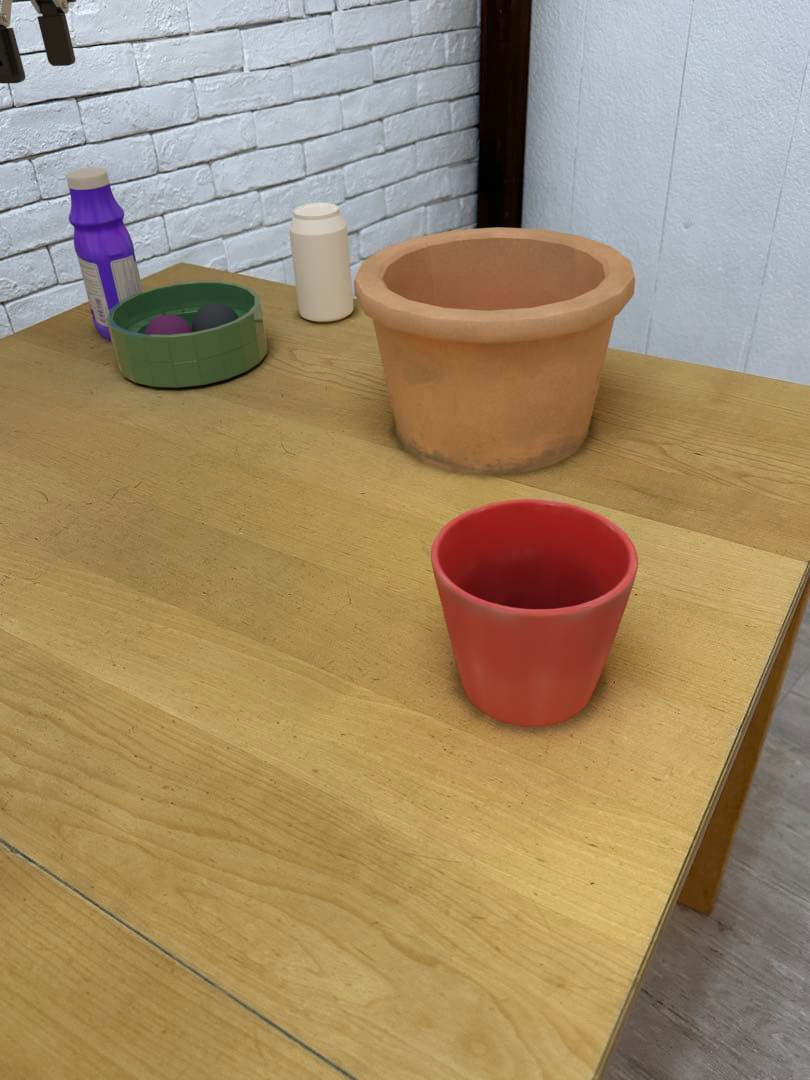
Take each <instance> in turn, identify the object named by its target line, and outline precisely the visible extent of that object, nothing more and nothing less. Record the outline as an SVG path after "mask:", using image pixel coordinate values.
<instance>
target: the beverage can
mask: <svg viewBox="0 0 810 1080" xmlns="http://www.w3.org/2000/svg"><path fill="white" fill-rule="evenodd" d="M292 213H293V216H292V219H291V221H290V224H289V227H288V233H289V241H290V248H291V257H292V264H293V265H292V267H293V274H294V282H295V289H296V290H295V291H296V298H297V305H298V313H299V315H300V316H301V317H302V318H303V319H305V320H308V321H310V322H313V323H333V322H337V321H341V320H343V319H345V318H347V317H348V316H349V315H351V314H352V313H353V311H354V295H353V294H354V293H353V282H352V281H353V280H352V270H351V259H350V247H349V235H348V224H347V222H346V220H345V218H344V217H343V215H342V213H341V211H340V207H339V205H337V204H334V203H330V202H312V203H305V204H302V205H298V206H297V207H295V208H294V209H293V210H292Z"/></svg>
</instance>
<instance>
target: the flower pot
mask: <svg viewBox="0 0 810 1080" xmlns="http://www.w3.org/2000/svg"><path fill="white" fill-rule="evenodd" d="M430 562H431V566H432V567H431V568H432V573H433V577H434V580H435V585H436V588H437V593H438V596H439V600H440V604H441V608H442V613H443V617H444V621H445V625H446V629H447V634H448V638H449V642H450V645H451V649H452V652H453V656H454V661H455V663H456V667H457V670H458V674H459V677H460V681H461V684H462V688H463V690H464V693H465V695H466V697H467V699H468V700H469V701H470V702H471V703H472V704H473V705H474V706H475V708H476V709H478V710H479V711H481V712H482V713H483V714H485V715H487V717H489V718H491V719H494V720H496V721H499V722H502V723H505V724H507V725H512V726H517V727H524V728H525V727H527V728H537V727H538V728H539V727H547V726H552V725H553V726H554V725H557V724H560V723H563V722H566V721H568V720H570V719H571V718H573V717H575V716H576V715H578V714H579V713H580V712H581V711H582V710H584V709H585V708H586V706H587V705H588V704H589V702H590V700H591V698H592V697H593V694H594V692H595V689H596V687H597V684H598V683H599V680H600V678H601V675H602V672H603V671H604V668H605V665H606V663H607V660H608V657H609V655H610V653H611V649H612V647H613V643H614V642H615V640H616V636H617V633H618V631H619V627H620V625H621V622H622V619H623V616H624V614H625V610H626V608H627V605H628V602H629V599H630V596H631V594H632V590H633V587H634V583H635V581H636V577H637V573H638V568H639V556H638V552H637V550H636V547H635V545H634V543H633V541H632V539H631V538H630V537H629V535H628V534H627V533H626V532H625V531H624V530H623V529H622V528H621V527H620V526H618V525H617V524H616V523H615V522H613V521H612V520H610V519H609V518H607V517H605V516H603V515H601V514H599V513H597V512H595V511H592V510H590V509H587V508H585V507H582V506H580V505H575V504H572V503H567V502H564V501H563V502H562V501H557V500H556V501H555V500H549V499H548V500H547V499H537V498H522V499H521V498H520V499H509V500H503V501H497V502H492V503H488V504H484V505H481V506H478V507H474V508H473V509H470V510H468V511H465V512H463V513H461V514H459V515H457V516H456V517H454V518H453V519H451V520H450V521H449V522H447V523H446V524H445V525H444V526H443V527H442V528H441V529H440V531H439V532H438V533H437V535H436V536H435V538H434V540H433V542H432V545H431V549H430Z"/></svg>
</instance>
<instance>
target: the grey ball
mask: <svg viewBox="0 0 810 1080" xmlns="http://www.w3.org/2000/svg"><path fill="white" fill-rule="evenodd" d="M238 318H239V317H238V315H237V314H236V312H235V311H234V310H233V309H232V308H230V307H229V306H227V305H225V304H222V303H209V304H206V305H204V306H202V307H201V308H200V309H199V310H198V311H197V312H196V314H195V315H194V317H193V321H192V330H193V332H198V331H202V330H207V329H211V328H216V327H218V326H221V325H224V324H227V323H229V322H232V321H235V320H236V319H238Z"/></svg>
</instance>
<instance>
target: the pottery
mask: <svg viewBox="0 0 810 1080" xmlns="http://www.w3.org/2000/svg"><path fill="white" fill-rule="evenodd" d="M635 287H636V278H635V272H634V269H633V266H632V262H631V259H629V258H628V257H627V256H625V255H624V254H622V253H621V252H620V251H618V250H617V249H616V248H614V247H612V246H611V245H609V244H606V243H604V242H603V243H602V242H600V241H597V240H594V239H591V238H588V237H585V236H581V235H578V234H574V233H567V232H561V231H554V230H547V229H543V228H542V229H541V228H524V227H523V228H522V227H497V226H495V227H483V228H482V227H481V228H480V227H479V228H467V229H466V228H465V229H454V230H448V231H443V232H438V233H432V234H426V235H421V236H416V237H413V238H410V239H407V240H404V241H402V242H401V241H400V242H398V243H395V244H392V245H390V246H386V247H384V248H382V249H381V250H378V252H376V253H374V254H373V255H371V256H369V257H368V258H366V259H365V260H363V261H362V262H361V264H360V266H359V267H358V271H357V273H356V275H355V277H354V279H353V289H354V296H355V298H356V300H357V303H358V304H359V305H360V307H361V309H362V311H363V313H364V315H365V316H367V317H369V318H370V319H372V323H373V326H374V331H375V336H376V341H377V346H378V349H379V354H380V355H379V356H380V360H381V365H382V369H383V373H384V377H385V383H386V387H387V392H388V393H387V394H388V397H389V401H390V406H391V412H392V416H393V421H394V425H395V434H396V436H397V437H398V439H399V442H400V444H401V445H402V446H401V447H402V448H403V449H404V450H405V451H407V452H408V453H410V454H411V455H413V456H414V457H415V458H417V459H418V460H419V461H421V462H422V463H425V464H428V465H431V466H434V467H437V468H440V469H444V470H446V471H449V472H452V473H462V474H468V475H469V474H471V475H478V476H479V475H480V476H487V477H489V476H501V475H514V474H516V475H517V474H525V473H528V472H529V473H530V472H532V471H536V470H539V469H543V468H547V467H550V466H555V465H556V464H558V463H560V462H561V461H563V460H564V459H567V458H568V457H570V456H572V455H573V454H575V453H576V452H578V451H579V449H580V448H581V446H582V445H583V443H584V442H585V440H586V439H587V437H589V428H590V424H591V420H592V416H593V411H594V407H595V403H596V399H597V395H598V390H599V386H600V382H601V378H602V374H603V370H604V369H603V368H604V365H605V361H606V356H607V352H608V348H609V343H610V341H611V340H610V339H611V335H612V331H613V327H614V323H615V319H616V316H618V315H620V313H621V312H622V311H623V310H624V308H625V307H626V305H627V304H628V303H629V302H630V300H631V299H632V298H633V296H634V294H635Z"/></svg>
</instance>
